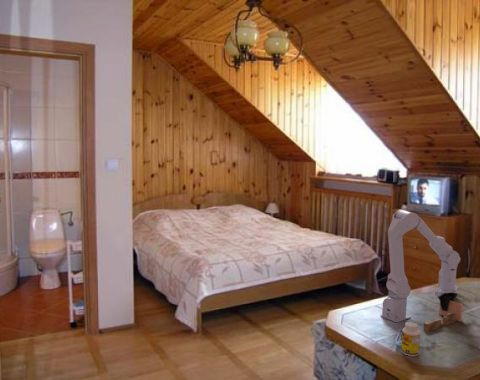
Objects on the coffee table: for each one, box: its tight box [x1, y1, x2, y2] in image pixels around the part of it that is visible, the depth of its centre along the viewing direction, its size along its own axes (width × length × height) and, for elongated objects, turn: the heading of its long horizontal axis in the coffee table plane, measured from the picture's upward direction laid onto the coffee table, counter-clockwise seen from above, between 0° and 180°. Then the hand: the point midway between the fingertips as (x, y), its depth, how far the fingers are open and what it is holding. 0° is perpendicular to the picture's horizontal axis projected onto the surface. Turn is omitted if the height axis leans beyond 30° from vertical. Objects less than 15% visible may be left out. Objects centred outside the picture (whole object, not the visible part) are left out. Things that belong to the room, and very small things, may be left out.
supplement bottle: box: [400, 321, 421, 357], centre depth 148 cm, size 6×6×10 cm
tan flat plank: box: [438, 300, 464, 322], centre depth 181 cm, size 9×1×7 cm, turn 34°
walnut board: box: [423, 313, 457, 333], centre depth 172 cm, size 20×1×3 cm, turn 124°
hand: (445, 309), depth 183 cm, fingers closed
